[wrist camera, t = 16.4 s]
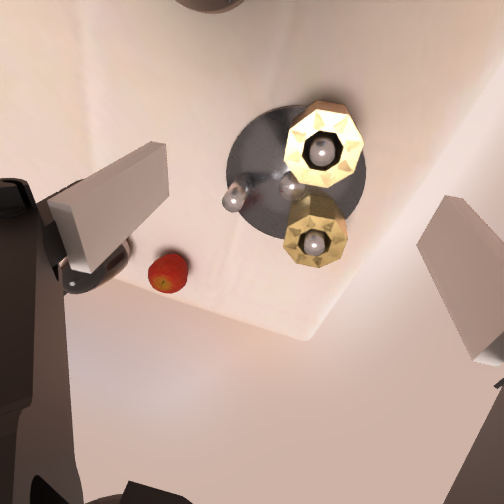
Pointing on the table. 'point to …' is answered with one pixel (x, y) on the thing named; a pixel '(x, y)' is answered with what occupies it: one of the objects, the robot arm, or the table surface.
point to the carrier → (283, 176)
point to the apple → (168, 273)
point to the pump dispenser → (94, 272)
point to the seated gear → (346, 151)
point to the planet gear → (320, 218)
